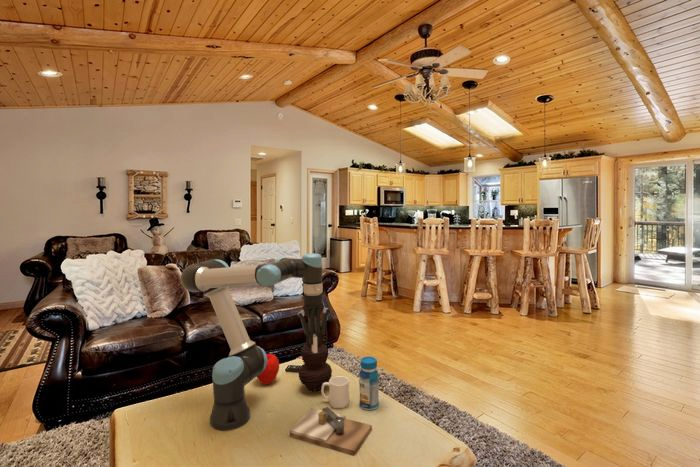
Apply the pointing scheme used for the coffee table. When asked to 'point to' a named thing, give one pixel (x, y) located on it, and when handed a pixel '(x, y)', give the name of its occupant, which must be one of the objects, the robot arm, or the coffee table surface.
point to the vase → (314, 365)
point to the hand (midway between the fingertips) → (314, 351)
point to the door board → (330, 432)
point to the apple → (269, 370)
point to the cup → (337, 391)
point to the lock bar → (335, 421)
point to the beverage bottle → (369, 384)
